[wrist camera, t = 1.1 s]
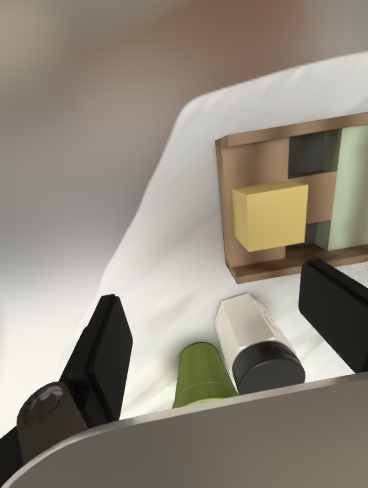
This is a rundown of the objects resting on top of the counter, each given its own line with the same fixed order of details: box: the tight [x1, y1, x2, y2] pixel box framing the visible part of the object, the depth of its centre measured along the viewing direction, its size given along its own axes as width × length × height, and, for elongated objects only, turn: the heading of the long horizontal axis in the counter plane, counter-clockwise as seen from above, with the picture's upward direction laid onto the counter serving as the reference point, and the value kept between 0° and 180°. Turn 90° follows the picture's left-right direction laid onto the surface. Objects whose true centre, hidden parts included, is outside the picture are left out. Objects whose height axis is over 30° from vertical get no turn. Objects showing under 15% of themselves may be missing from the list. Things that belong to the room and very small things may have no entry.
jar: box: [214, 293, 305, 395], centre depth 29 cm, size 9×8×12 cm
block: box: [232, 180, 308, 252], centre depth 23 cm, size 6×6×5 cm
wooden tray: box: [215, 112, 368, 284], centre depth 26 cm, size 22×17×6 cm
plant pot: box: [172, 343, 240, 409], centre depth 33 cm, size 12×12×11 cm
